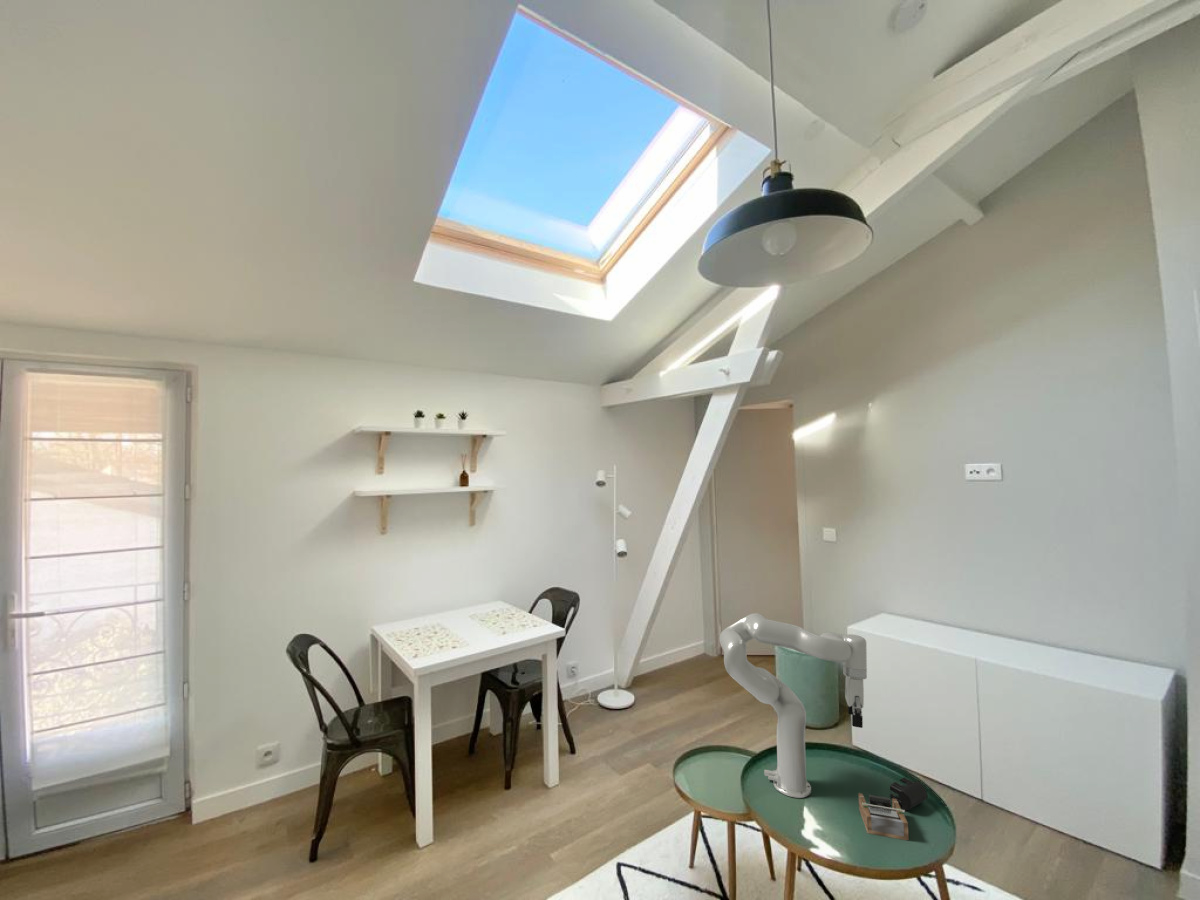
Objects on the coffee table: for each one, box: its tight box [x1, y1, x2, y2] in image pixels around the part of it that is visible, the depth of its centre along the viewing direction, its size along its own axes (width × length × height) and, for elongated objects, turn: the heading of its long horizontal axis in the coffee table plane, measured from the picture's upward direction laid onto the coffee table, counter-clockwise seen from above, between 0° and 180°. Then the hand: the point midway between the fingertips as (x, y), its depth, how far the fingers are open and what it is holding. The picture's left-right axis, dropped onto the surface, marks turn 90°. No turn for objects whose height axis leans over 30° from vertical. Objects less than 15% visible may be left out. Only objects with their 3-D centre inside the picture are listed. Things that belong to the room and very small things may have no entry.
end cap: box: [889, 777, 928, 812], centre depth 166 cm, size 10×7×7 cm
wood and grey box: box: [858, 792, 910, 841], centre depth 156 cm, size 11×12×5 cm
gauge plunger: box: [862, 794, 906, 820], centre depth 157 cm, size 12×6×5 cm, turn 73°
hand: (855, 720), depth 175 cm, fingers open, 9 cm apart
